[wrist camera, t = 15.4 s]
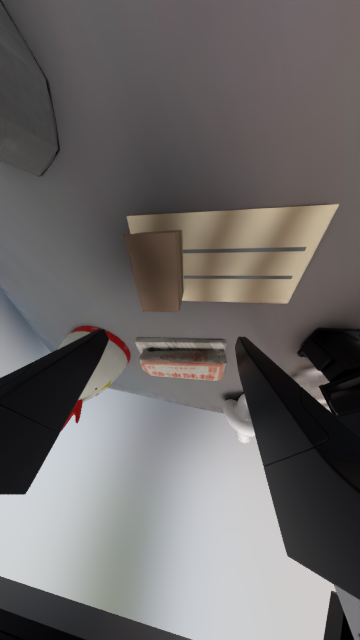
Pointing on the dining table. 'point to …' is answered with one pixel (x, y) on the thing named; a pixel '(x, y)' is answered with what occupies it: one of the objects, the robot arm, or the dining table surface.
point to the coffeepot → (23, 105)
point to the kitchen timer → (100, 366)
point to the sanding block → (158, 268)
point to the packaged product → (183, 357)
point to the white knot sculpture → (239, 418)
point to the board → (243, 250)
